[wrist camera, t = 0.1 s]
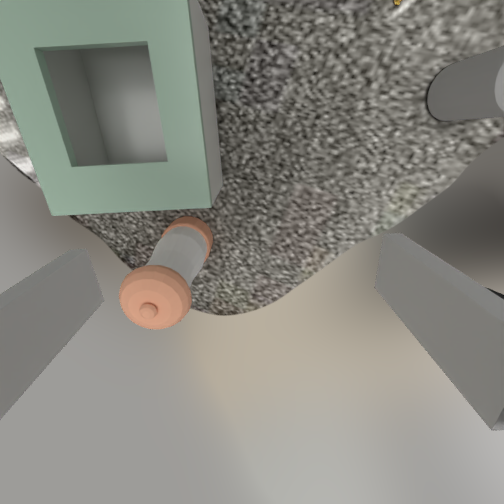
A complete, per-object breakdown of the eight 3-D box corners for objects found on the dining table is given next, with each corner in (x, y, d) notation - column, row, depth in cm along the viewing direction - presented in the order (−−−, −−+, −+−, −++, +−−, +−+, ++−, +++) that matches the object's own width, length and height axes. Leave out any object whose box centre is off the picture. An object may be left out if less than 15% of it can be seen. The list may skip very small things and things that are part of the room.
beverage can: (413, 103, 34) (491, 88, 23) (451, 51, 31) (558, 6, 21) (447, 131, 35) (537, 129, 24) (486, 82, 33) (605, 56, 22)
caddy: (72, 36, 30) (-40, -28, 19) (208, 28, 30) (182, -41, 18) (113, 190, 38) (52, 215, 26) (223, 184, 38) (211, 207, 26)
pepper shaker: (167, 212, 39) (102, 274, 22) (215, 220, 40) (189, 286, 22) (165, 255, 42) (107, 340, 25) (210, 262, 43) (184, 349, 25)
